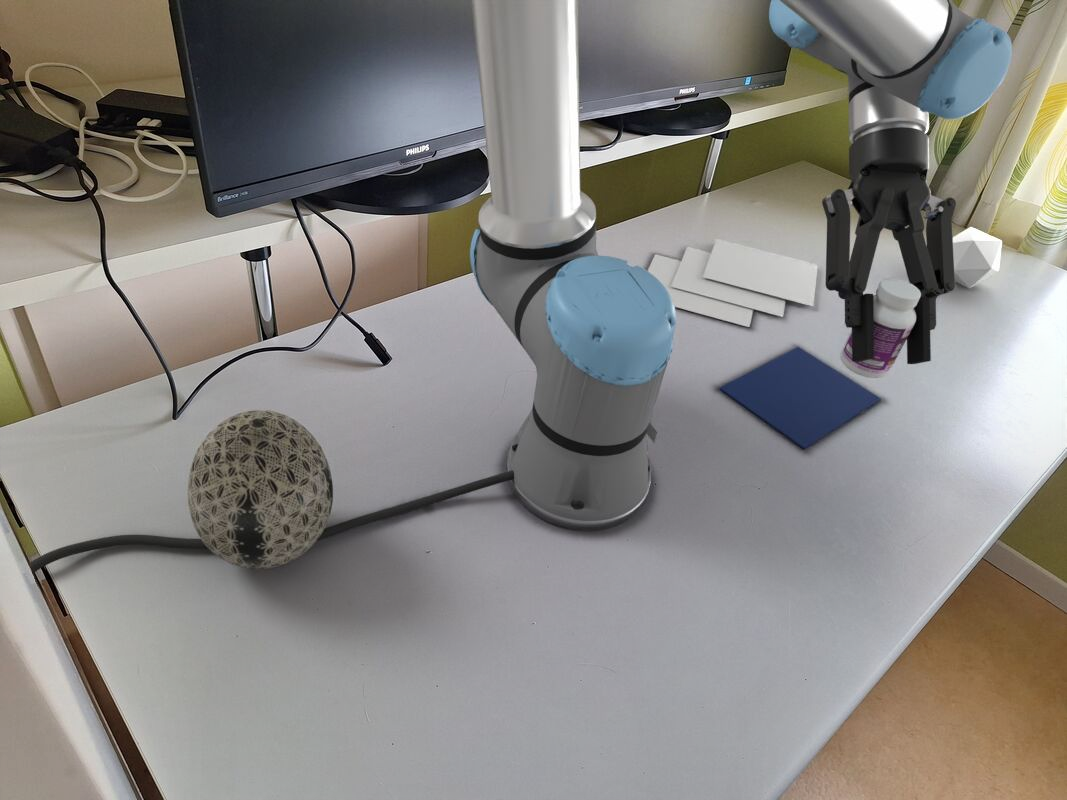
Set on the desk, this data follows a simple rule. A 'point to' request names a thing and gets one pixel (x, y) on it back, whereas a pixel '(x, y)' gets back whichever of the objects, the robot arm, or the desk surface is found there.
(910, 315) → the pill bottle
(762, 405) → the cloth
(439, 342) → the desk surface
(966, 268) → the die
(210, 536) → the decorative egg
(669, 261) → the paper stack
